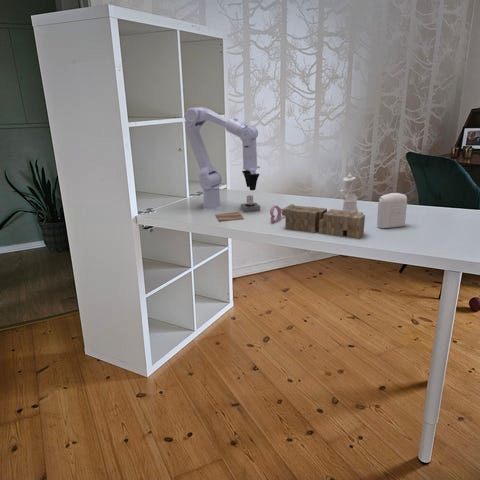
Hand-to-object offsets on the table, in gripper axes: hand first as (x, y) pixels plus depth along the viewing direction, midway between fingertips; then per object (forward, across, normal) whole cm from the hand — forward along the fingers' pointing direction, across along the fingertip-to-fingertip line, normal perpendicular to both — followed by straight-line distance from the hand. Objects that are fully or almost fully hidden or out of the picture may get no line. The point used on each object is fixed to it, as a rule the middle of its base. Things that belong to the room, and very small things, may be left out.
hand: (251, 188), depth 185 cm
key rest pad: (+10, -9, +11) cm, 17 cm away
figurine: (+10, -23, -35) cm, 43 cm away
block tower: (+11, -35, -20) cm, 42 cm away
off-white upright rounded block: (+11, -38, -45) cm, 59 cm away
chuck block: (+10, +1, +1) cm, 10 cm away
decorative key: (+10, -14, -12) cm, 21 cm away
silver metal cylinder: (+9, +1, +1) cm, 9 cm away
